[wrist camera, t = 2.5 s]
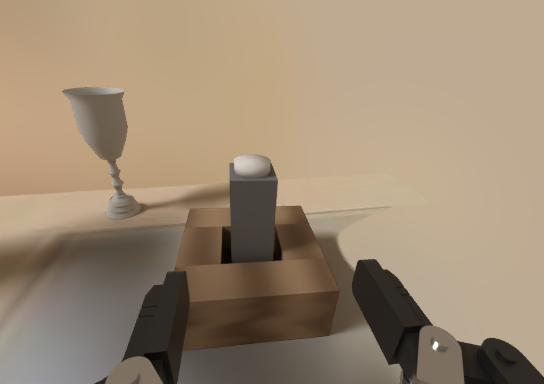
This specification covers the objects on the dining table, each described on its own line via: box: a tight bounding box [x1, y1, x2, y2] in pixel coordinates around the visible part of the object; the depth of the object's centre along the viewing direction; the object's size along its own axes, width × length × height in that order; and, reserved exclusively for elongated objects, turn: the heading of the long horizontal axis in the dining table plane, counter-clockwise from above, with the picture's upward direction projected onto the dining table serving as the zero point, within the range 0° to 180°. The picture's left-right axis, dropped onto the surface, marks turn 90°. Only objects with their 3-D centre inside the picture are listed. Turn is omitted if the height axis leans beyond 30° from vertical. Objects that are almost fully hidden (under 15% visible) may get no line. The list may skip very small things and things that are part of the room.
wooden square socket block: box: [174, 206, 340, 351], centre depth 29 cm, size 14×14×6 cm
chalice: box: [62, 87, 141, 219], centre depth 38 cm, size 7×7×18 cm
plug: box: [230, 154, 278, 264], centre depth 27 cm, size 4×4×15 cm
